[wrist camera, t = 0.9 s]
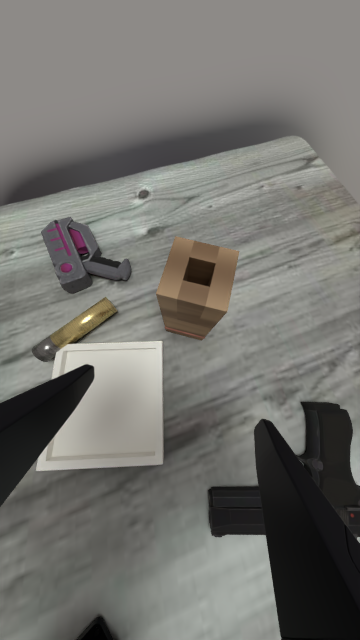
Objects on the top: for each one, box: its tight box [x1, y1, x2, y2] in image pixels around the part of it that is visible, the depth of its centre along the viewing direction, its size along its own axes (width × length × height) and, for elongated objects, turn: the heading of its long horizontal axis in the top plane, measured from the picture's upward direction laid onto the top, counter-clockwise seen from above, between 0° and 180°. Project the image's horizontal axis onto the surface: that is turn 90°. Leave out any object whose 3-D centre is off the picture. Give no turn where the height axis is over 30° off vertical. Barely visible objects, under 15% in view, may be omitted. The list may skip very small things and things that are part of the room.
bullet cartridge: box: [32, 297, 117, 362], centre depth 22 cm, size 10×2×2 cm, turn 130°
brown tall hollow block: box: [156, 236, 239, 340], centre depth 18 cm, size 5×5×12 cm
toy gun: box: [41, 217, 131, 293], centre depth 25 cm, size 14×3×10 cm
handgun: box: [209, 402, 360, 539], centre depth 18 cm, size 3×17×12 cm
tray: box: [36, 341, 164, 471], centre depth 20 cm, size 13×13×2 cm
